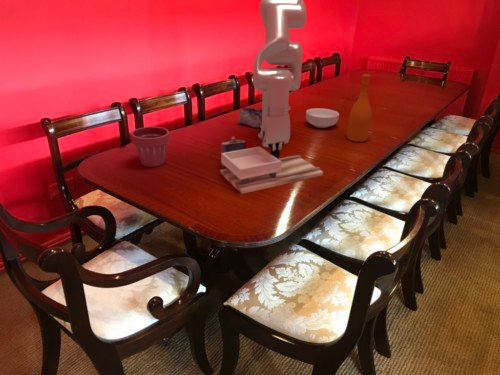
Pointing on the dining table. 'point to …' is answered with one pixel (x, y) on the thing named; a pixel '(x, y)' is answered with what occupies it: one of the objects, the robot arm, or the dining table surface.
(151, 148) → the plant pot
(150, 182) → the dining table surface
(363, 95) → the wine bottle
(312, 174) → the rail board
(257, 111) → the geode
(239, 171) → the pink rimmed tray
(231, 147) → the flask
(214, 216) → the dining table surface
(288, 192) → the dining table surface
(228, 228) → the dining table surface
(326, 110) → the cereal bowl
